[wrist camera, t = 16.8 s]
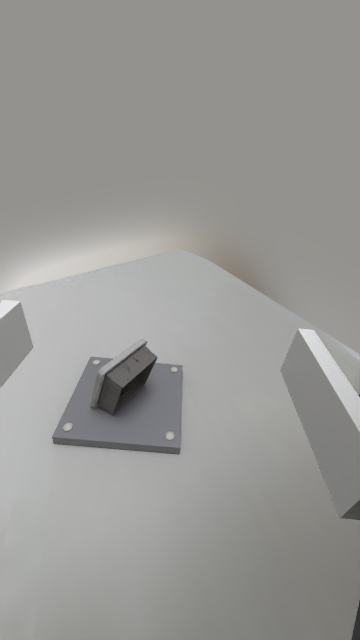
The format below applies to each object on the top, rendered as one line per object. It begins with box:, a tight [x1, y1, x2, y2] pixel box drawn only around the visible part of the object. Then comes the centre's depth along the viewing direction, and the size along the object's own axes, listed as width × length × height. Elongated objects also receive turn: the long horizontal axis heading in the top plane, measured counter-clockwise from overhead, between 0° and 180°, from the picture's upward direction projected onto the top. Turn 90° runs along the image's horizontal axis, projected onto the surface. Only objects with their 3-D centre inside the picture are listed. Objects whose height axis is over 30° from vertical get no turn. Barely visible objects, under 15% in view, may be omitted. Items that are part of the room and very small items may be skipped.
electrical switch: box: [90, 338, 157, 416], centre depth 38 cm, size 9×5×9 cm, turn 148°
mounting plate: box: [52, 357, 183, 454], centre depth 41 cm, size 17×16×2 cm
